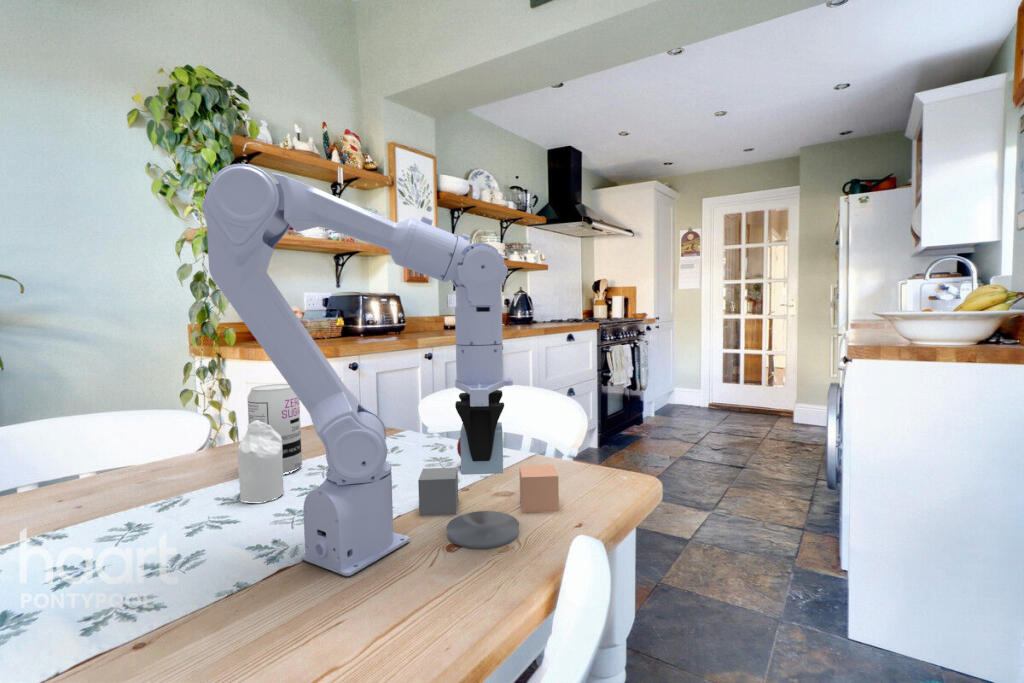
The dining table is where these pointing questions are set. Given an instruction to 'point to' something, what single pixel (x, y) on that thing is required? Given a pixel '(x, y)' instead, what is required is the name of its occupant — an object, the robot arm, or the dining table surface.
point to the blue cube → (482, 466)
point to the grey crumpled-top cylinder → (260, 463)
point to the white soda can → (279, 418)
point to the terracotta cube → (539, 488)
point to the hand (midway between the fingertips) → (481, 453)
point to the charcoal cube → (438, 491)
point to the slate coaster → (483, 529)
